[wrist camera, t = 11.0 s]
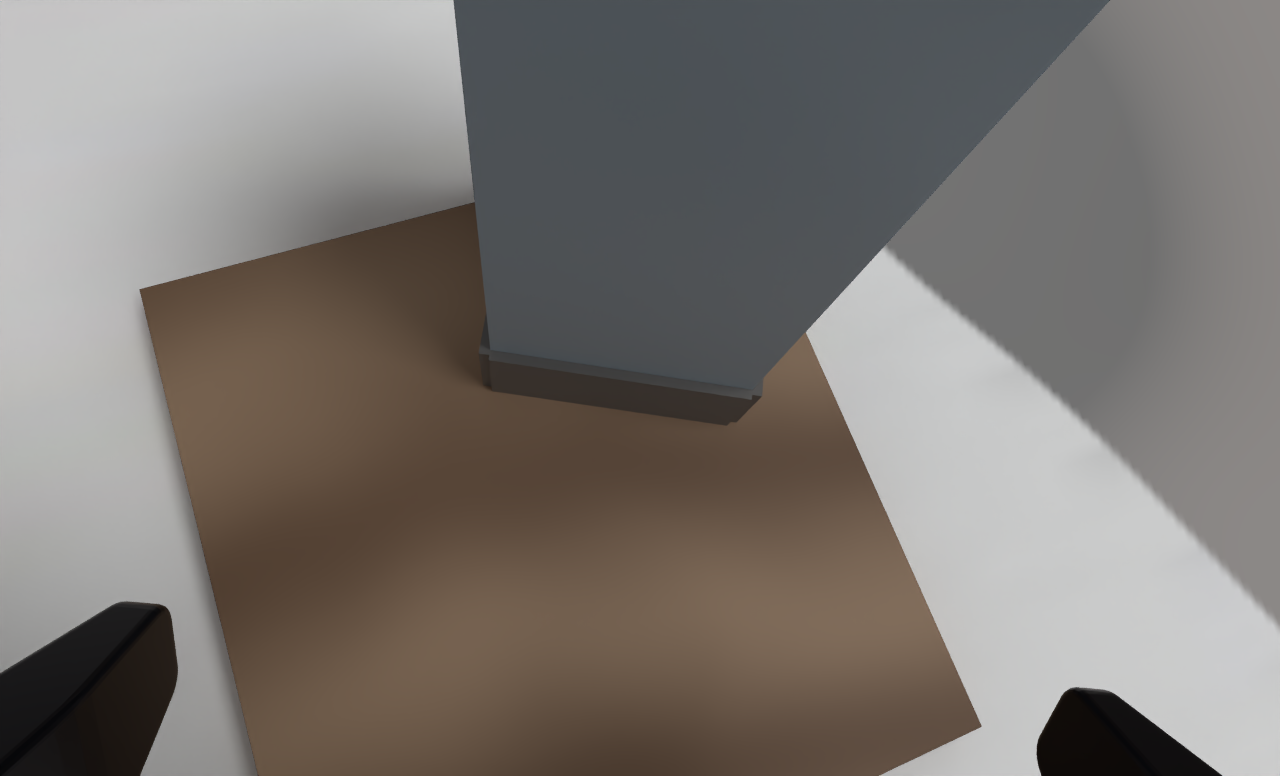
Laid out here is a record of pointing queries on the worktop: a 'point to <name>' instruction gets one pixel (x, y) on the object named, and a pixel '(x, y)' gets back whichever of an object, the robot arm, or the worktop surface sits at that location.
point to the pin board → (526, 544)
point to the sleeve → (711, 173)
